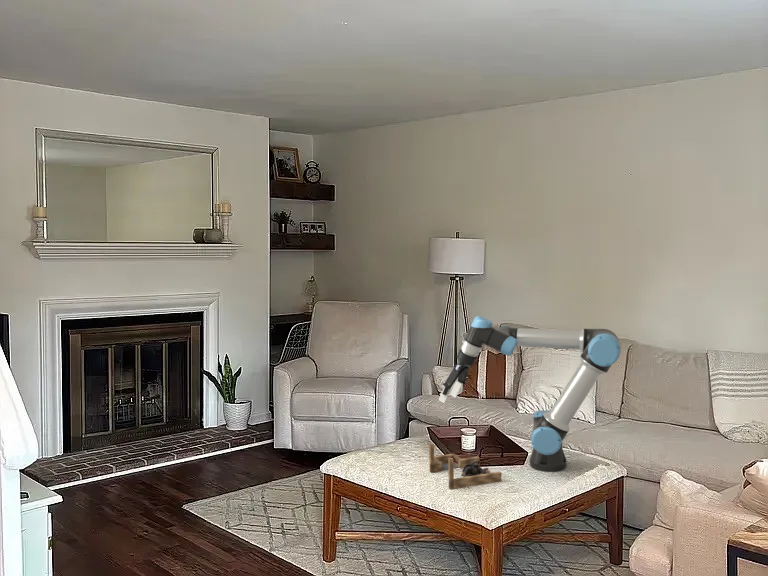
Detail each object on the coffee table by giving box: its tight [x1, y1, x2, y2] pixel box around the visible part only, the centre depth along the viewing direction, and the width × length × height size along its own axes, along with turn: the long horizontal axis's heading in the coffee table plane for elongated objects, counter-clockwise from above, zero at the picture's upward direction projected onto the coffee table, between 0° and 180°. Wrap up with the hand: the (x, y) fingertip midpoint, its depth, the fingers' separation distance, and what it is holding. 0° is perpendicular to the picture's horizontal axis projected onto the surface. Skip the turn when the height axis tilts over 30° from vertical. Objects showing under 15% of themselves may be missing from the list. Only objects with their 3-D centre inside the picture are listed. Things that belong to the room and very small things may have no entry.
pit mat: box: [442, 463, 459, 471], centre depth 324 cm, size 7×6×1 cm
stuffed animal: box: [460, 461, 491, 477], centre depth 313 cm, size 12×10×12 cm
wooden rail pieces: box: [428, 442, 502, 490], centre depth 315 cm, size 22×28×12 cm
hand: (447, 398), depth 315 cm, fingers open, 13 cm apart
